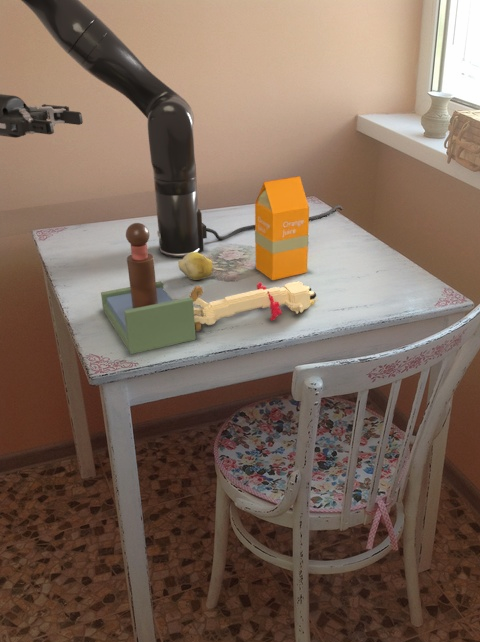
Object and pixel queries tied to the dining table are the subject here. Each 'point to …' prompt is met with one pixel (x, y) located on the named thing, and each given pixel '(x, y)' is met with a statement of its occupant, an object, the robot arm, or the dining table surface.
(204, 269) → the fruit
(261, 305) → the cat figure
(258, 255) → the orange juice
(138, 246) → the skittle
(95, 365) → the dining table surface
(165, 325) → the bed
